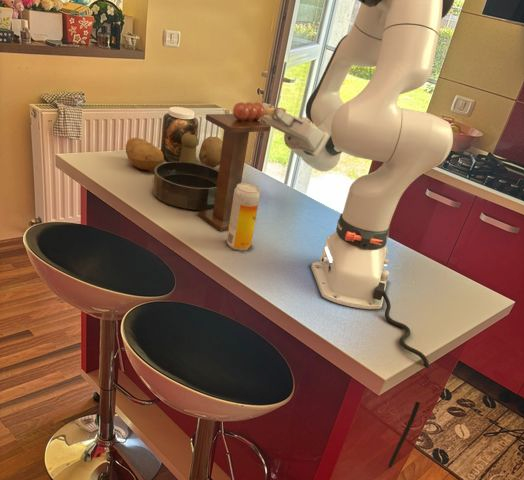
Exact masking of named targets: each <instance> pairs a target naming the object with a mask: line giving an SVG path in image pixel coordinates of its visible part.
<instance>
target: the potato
mask: <svg viewBox="0 0 524 480" xmlns="http://www.w3.org/2000/svg"><path fill="white" fill-rule="evenodd" d="M125 153H126V154H125V155H126V157H127V159H128V161H129V162H130V163H131V164H132V165H133V166H135V167H136V168H138V169H139V170H143V171H151V172H154V169H155V167H156V166H157V165H159V164H162V163H164V161H165V160H164V156H163V153H162V151H161V149H159V148H158V147H157V146H155V145H154V144H152V143H151V142H150V141H147V140H145V139H143V138H139V137H131V138H129V139H128V140H126V144H125Z"/></svg>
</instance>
